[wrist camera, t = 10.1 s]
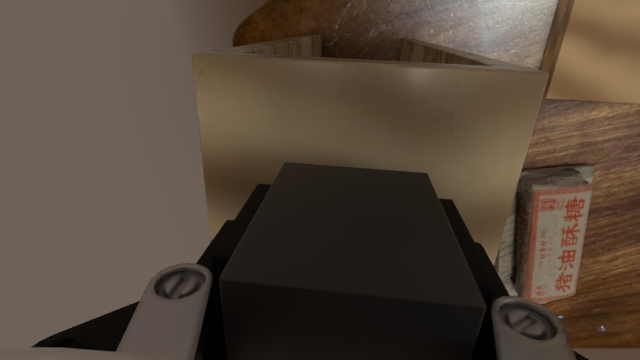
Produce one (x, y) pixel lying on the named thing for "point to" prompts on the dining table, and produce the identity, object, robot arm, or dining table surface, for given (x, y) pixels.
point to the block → (349, 272)
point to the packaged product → (546, 233)
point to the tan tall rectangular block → (367, 122)
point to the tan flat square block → (594, 52)
